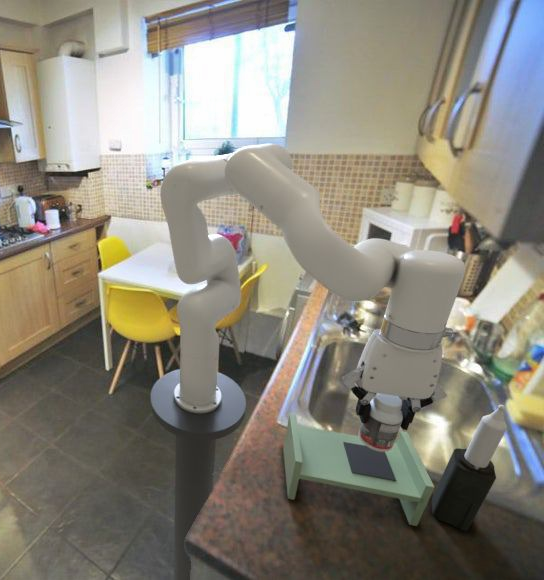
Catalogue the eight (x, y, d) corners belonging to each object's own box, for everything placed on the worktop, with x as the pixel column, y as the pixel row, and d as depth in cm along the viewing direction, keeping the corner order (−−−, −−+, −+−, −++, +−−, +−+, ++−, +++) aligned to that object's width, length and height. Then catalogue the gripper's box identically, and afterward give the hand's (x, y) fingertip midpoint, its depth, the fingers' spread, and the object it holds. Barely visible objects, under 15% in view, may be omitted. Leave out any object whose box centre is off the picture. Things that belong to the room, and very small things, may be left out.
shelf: (283, 448, 79) (289, 413, 75) (393, 468, 74) (407, 431, 70) (287, 498, 69) (295, 461, 64) (417, 526, 63) (434, 487, 59)
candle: (432, 517, 65) (483, 409, 54) (431, 495, 69) (478, 389, 58) (469, 533, 62) (530, 422, 52) (466, 509, 66) (522, 401, 55)
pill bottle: (352, 429, 68) (364, 387, 64) (381, 429, 68) (395, 387, 64) (367, 453, 63) (381, 409, 59) (399, 453, 63) (415, 409, 59)
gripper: (463, 325, 57) (429, 413, 65) (343, 314, 61) (324, 398, 69) (491, 352, 50) (449, 447, 58) (354, 337, 55) (331, 428, 62)
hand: (381, 419), depth 63 cm, fingers closed on pill bottle, 5 cm apart
